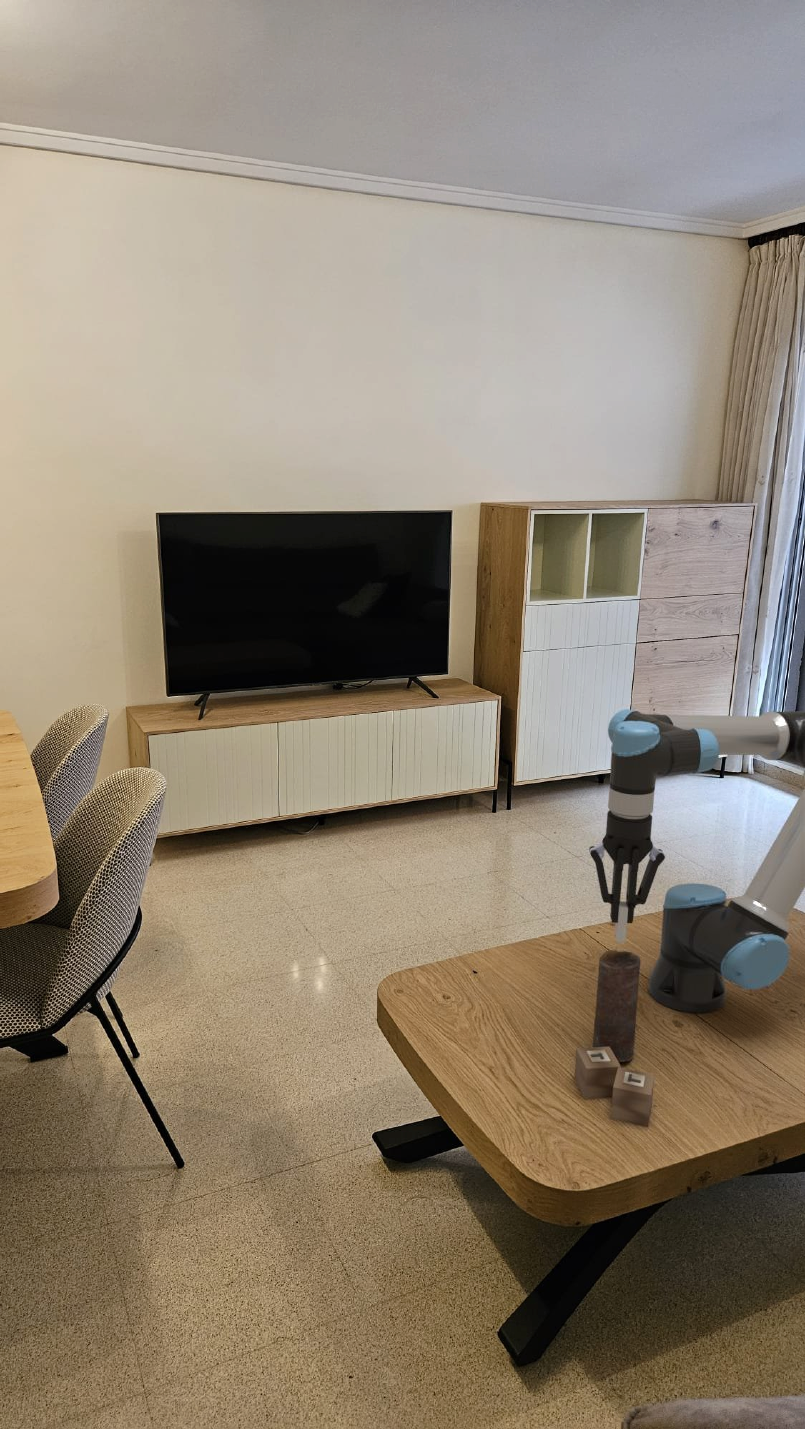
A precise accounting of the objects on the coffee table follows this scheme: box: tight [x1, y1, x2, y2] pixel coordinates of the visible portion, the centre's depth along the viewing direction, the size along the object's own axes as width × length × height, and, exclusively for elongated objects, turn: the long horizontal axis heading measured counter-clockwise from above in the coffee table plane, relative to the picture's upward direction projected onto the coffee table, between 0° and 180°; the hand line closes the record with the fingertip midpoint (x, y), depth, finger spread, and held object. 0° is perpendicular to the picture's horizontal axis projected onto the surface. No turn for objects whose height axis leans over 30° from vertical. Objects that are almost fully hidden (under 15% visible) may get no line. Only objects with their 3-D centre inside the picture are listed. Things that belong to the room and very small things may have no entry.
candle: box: [592, 949, 641, 1063], centre depth 177 cm, size 8×7×20 cm
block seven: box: [610, 1066, 656, 1128], centre depth 163 cm, size 6×6×6 cm
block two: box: [573, 1046, 622, 1101], centre depth 169 cm, size 6×6×6 cm
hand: (620, 938), depth 174 cm, fingers closed
